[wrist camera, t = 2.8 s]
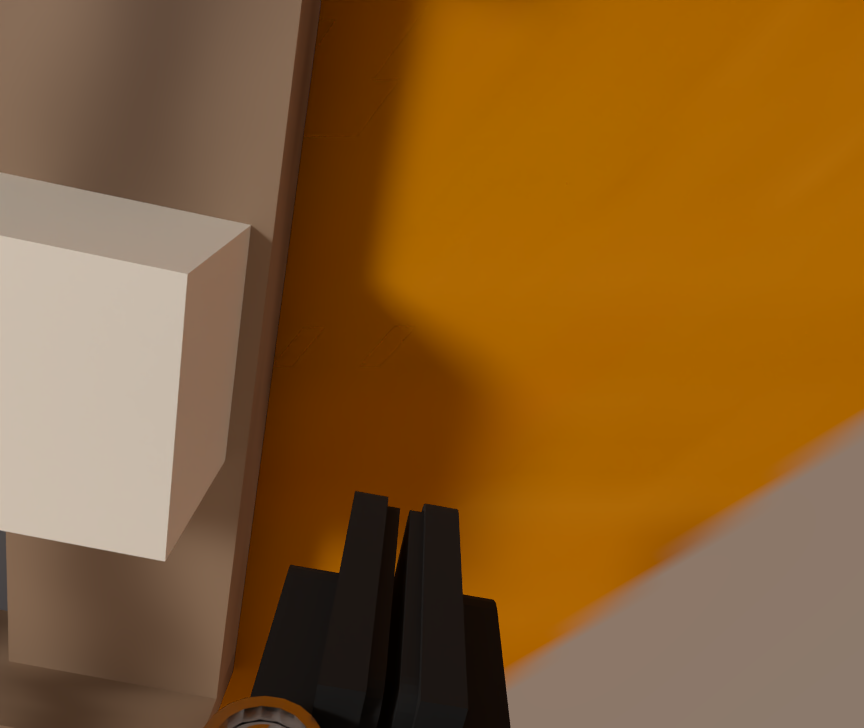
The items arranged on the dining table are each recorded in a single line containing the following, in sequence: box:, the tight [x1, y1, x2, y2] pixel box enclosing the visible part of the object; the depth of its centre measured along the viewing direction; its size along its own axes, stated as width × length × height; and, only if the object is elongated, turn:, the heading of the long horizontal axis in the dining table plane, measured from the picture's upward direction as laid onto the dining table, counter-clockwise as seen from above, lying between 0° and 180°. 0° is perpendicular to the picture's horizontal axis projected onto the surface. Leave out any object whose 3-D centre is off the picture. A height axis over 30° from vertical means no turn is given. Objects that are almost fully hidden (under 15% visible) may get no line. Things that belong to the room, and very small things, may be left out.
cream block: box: [0, 172, 251, 561], centre depth 15 cm, size 6×6×4 cm
